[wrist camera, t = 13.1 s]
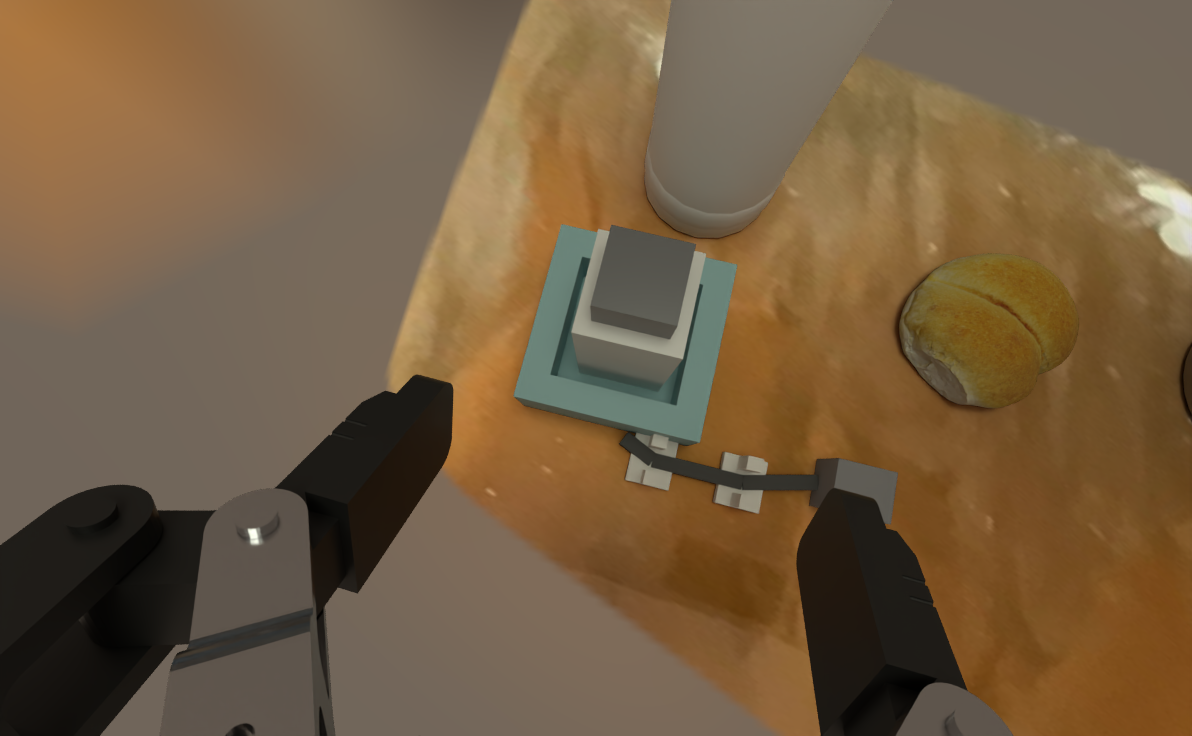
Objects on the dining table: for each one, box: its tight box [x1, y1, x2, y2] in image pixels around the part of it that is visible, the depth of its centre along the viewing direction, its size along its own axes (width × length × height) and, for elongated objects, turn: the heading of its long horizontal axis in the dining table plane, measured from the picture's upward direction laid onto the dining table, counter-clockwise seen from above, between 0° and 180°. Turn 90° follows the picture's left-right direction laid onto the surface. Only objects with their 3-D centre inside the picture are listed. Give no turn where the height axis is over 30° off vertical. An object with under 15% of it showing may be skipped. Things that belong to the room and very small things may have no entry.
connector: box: [571, 225, 706, 392], centre depth 25 cm, size 4×4×11 cm
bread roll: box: [899, 253, 1079, 408], centre depth 29 cm, size 8×9×4 cm
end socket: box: [514, 224, 737, 446], centre depth 29 cm, size 10×10×4 cm
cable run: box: [619, 432, 898, 524], centre depth 28 cm, size 14×4×3 cm, turn 76°
